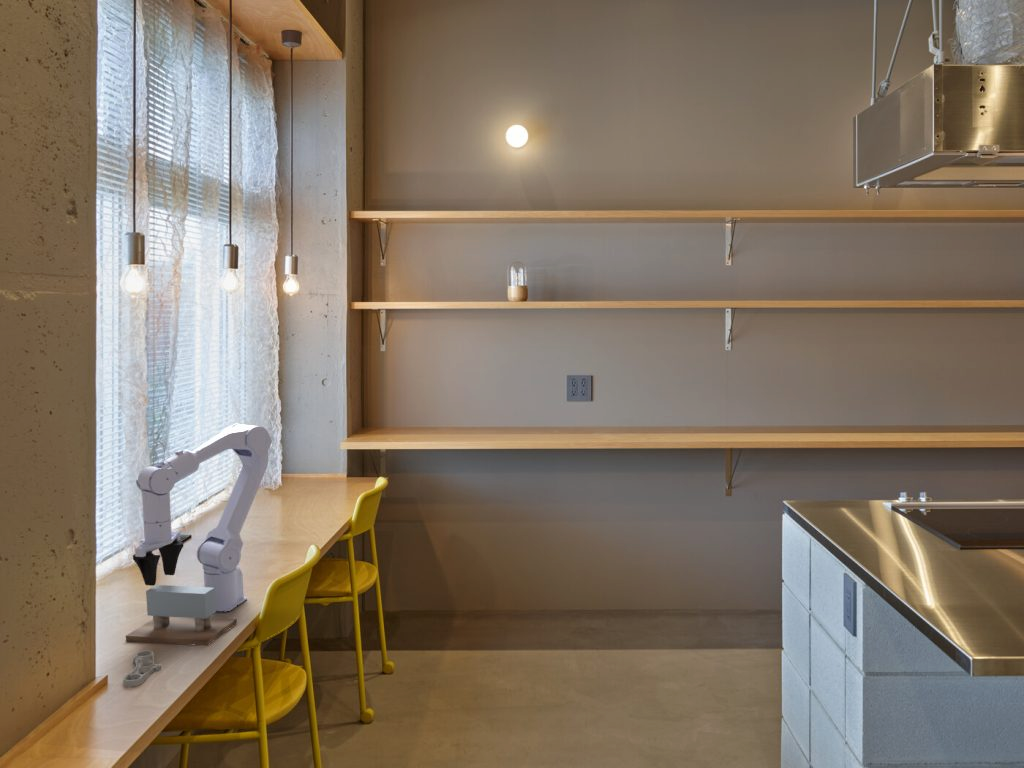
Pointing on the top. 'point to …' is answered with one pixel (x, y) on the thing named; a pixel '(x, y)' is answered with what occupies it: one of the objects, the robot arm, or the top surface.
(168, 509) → the robot arm
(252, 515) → the top surface
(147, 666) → the bracket
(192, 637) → the peg stand
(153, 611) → the pale blue rectangular block
